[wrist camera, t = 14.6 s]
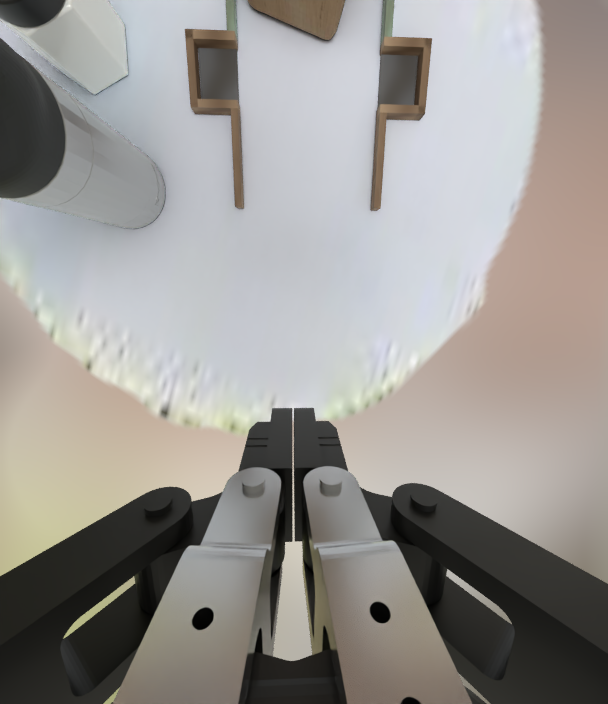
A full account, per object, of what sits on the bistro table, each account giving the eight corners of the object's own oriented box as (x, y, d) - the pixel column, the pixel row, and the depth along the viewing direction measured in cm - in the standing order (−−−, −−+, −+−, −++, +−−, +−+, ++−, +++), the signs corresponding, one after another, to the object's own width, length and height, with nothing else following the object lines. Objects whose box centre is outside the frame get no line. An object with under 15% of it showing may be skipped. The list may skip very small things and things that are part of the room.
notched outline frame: (201, 207, 38) (198, 205, 37) (178, -119, 31) (172, -139, 29) (411, 211, 39) (415, 208, 38) (439, -104, 32) (447, -123, 30)
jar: (45, -9, 32) (-92, -163, 21) (125, 0, 33) (34, -147, 21) (57, 92, 35) (-60, 4, 23) (132, 98, 35) (53, 15, 24)
